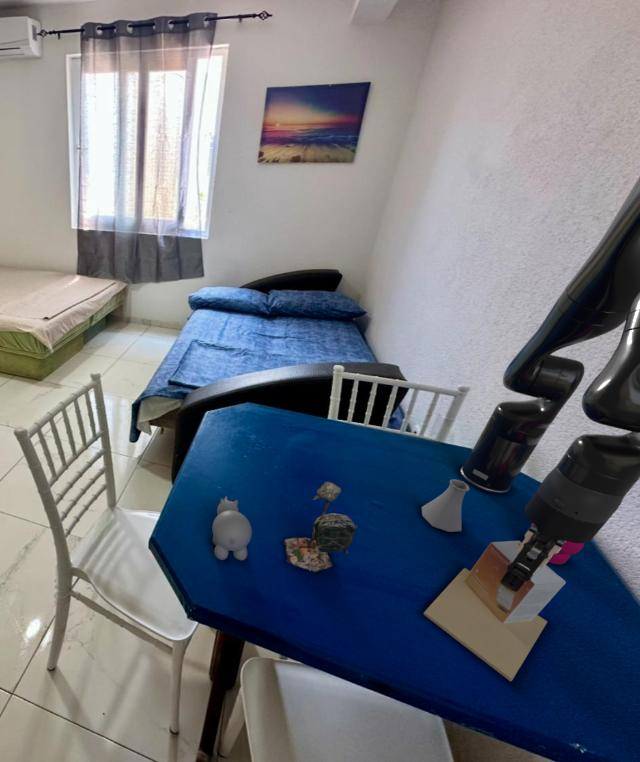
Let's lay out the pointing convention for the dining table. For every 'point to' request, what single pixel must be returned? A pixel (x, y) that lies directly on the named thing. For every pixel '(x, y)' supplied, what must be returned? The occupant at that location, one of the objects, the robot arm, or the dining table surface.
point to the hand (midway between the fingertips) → (518, 573)
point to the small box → (502, 598)
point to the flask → (447, 507)
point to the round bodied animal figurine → (230, 531)
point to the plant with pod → (322, 536)
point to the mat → (483, 627)
